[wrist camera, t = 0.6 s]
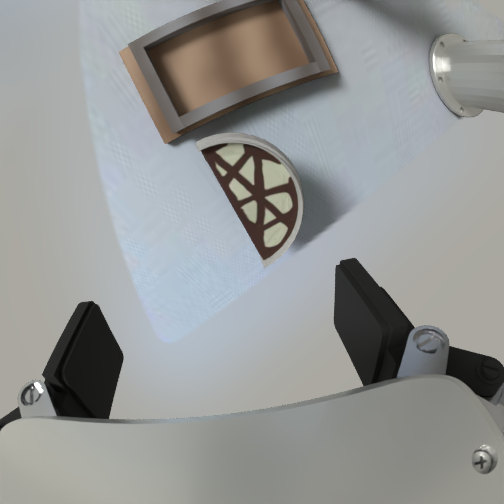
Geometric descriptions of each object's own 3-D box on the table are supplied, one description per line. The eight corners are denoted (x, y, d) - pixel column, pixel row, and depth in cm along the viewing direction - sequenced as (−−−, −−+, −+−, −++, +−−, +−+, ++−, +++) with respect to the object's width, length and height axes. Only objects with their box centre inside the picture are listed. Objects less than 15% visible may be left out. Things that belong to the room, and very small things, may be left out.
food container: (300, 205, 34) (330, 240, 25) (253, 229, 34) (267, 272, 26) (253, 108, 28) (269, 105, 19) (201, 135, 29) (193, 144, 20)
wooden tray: (290, -14, 22) (297, -24, 19) (334, 73, 27) (345, 70, 24) (121, 53, 23) (112, 48, 21) (166, 143, 29) (161, 146, 26)
